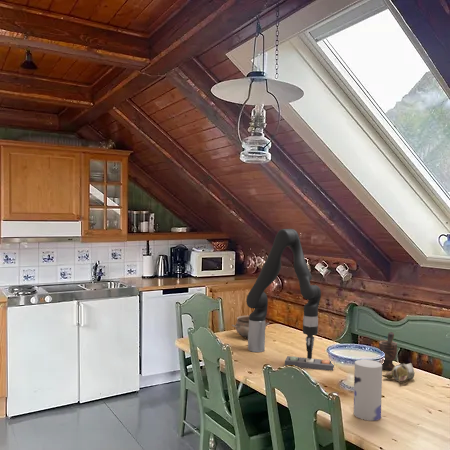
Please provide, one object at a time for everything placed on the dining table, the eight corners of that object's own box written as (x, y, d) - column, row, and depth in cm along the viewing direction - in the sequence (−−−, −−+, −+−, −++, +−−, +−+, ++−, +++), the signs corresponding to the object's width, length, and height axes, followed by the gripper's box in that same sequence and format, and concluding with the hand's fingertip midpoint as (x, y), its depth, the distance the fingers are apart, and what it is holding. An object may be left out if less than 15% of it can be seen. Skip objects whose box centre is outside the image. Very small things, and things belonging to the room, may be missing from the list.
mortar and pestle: (403, 372, 232) (404, 332, 232) (387, 373, 231) (388, 332, 231) (390, 365, 244) (391, 327, 244) (375, 366, 242) (376, 327, 242)
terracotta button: (321, 366, 237) (321, 361, 237) (321, 364, 241) (321, 359, 241) (329, 367, 236) (329, 362, 236) (329, 365, 240) (329, 360, 240)
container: (349, 410, 184) (350, 359, 184) (374, 410, 185) (375, 359, 185) (359, 421, 174) (360, 367, 174) (385, 420, 175) (386, 367, 175)
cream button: (305, 365, 239) (305, 359, 239) (306, 362, 243) (306, 357, 243) (313, 365, 238) (313, 360, 238) (313, 363, 242) (314, 358, 242)
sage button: (289, 363, 241) (289, 358, 241) (290, 361, 245) (290, 356, 245) (297, 364, 240) (297, 359, 240) (298, 362, 244) (298, 356, 244)
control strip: (284, 365, 240) (284, 360, 240) (287, 360, 248) (287, 356, 248) (333, 370, 233) (333, 365, 233) (334, 365, 242) (334, 360, 242)
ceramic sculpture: (421, 362, 220) (400, 369, 212) (421, 380, 220) (400, 388, 212) (401, 357, 229) (381, 363, 221) (402, 374, 229) (381, 381, 221)
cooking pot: (236, 342, 283) (237, 322, 283) (226, 335, 301) (226, 316, 301) (274, 340, 292) (275, 320, 291) (262, 333, 309) (262, 314, 309)
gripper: (304, 321, 248) (303, 354, 248) (301, 326, 235) (300, 361, 235) (319, 322, 246) (318, 355, 246) (316, 327, 233) (315, 362, 233)
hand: (309, 358), depth 241 cm, fingers closed
